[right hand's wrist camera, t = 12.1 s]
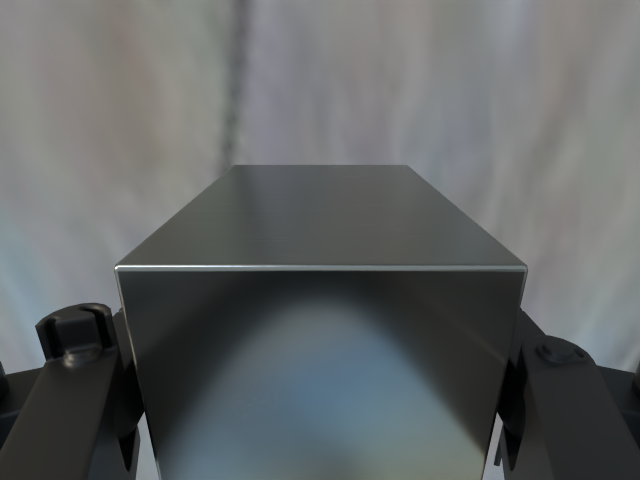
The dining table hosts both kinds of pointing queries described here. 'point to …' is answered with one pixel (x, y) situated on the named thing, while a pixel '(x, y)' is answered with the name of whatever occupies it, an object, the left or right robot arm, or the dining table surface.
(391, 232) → the box
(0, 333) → the dining table surface
